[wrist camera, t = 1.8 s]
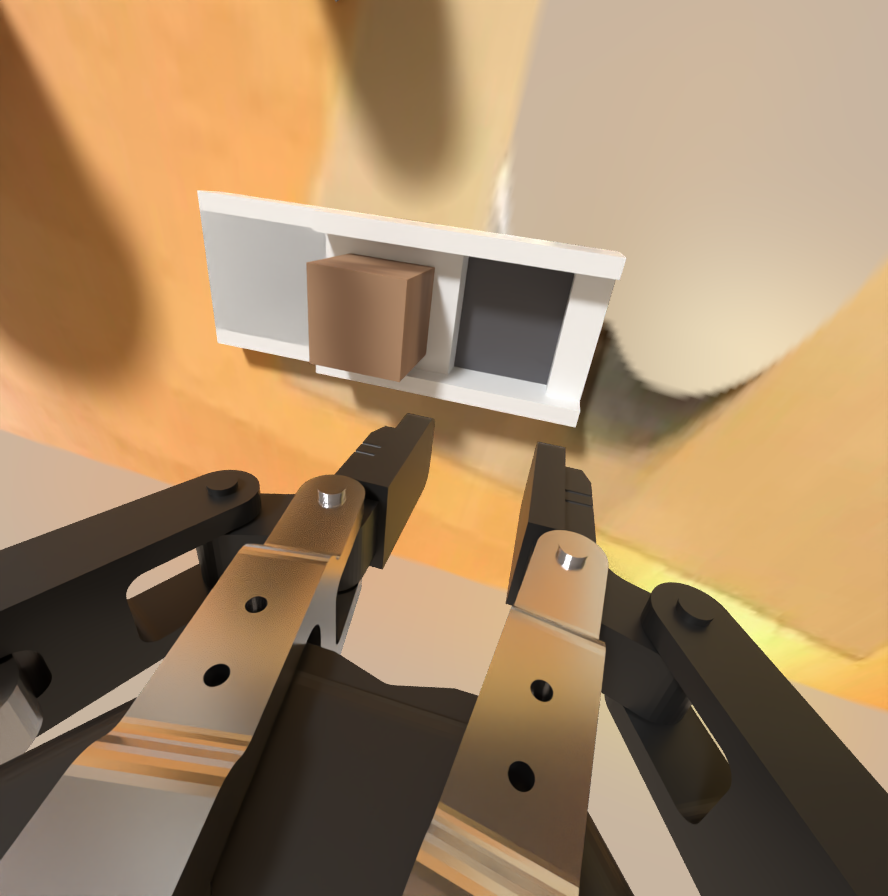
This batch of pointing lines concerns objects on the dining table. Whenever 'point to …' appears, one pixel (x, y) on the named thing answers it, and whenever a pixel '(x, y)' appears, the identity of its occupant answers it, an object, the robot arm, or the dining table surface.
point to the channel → (452, 307)
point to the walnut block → (368, 314)
